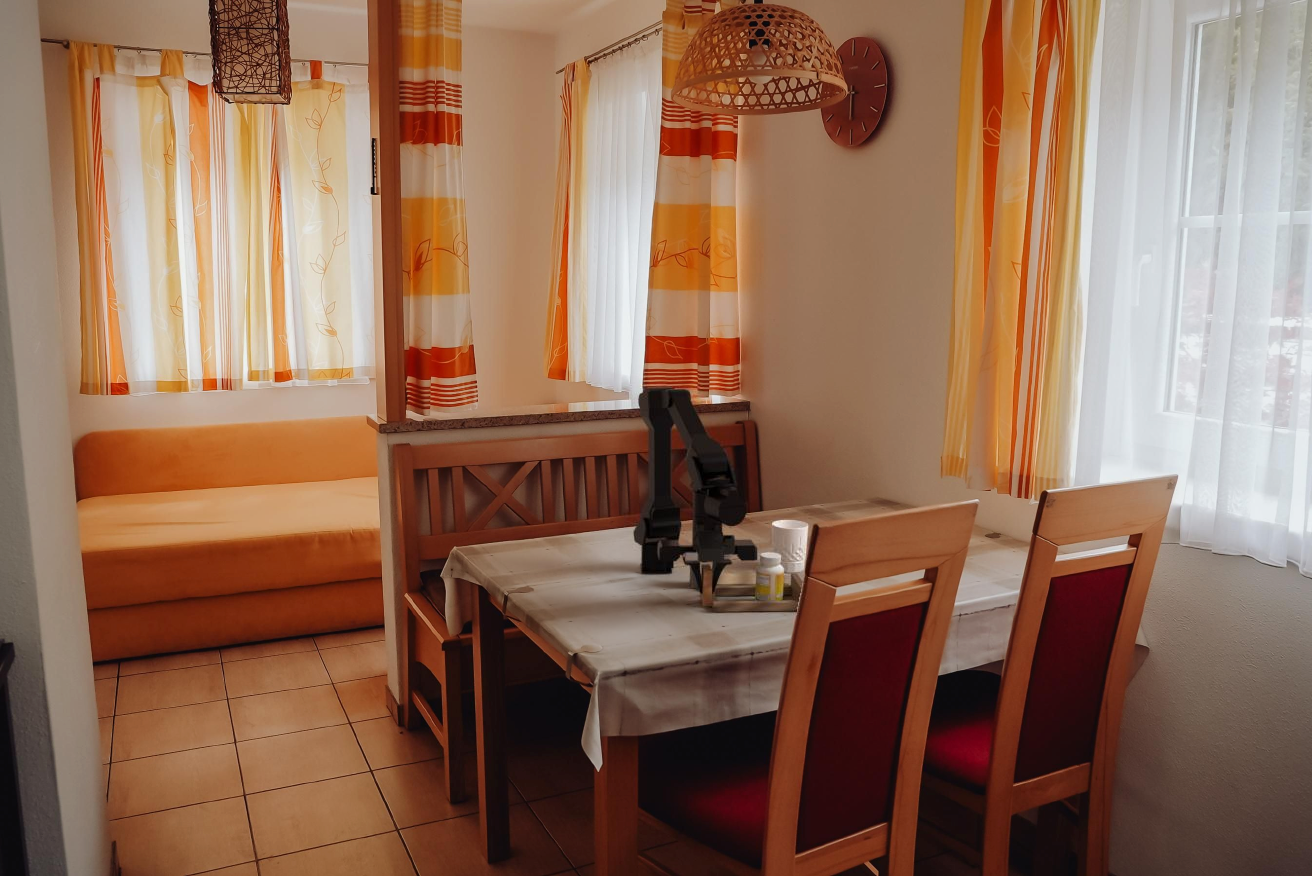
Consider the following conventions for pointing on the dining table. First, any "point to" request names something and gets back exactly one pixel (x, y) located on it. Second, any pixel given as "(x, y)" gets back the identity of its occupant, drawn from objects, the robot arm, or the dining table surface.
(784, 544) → the white cup
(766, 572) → the supplement bottle
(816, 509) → the dining table surface
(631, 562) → the dining table surface
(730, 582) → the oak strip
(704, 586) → the wooden tray
